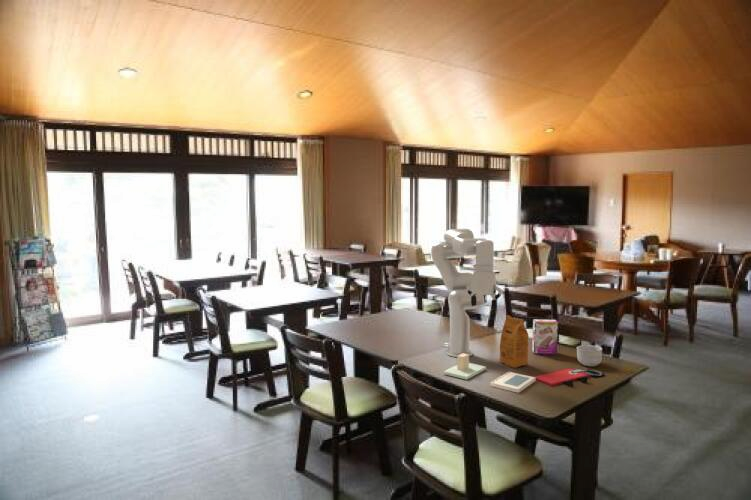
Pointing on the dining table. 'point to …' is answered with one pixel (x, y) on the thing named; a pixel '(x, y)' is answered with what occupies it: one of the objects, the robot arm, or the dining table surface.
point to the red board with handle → (566, 376)
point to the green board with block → (464, 368)
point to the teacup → (589, 355)
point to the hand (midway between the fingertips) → (483, 307)
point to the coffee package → (514, 343)
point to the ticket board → (513, 382)
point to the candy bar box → (545, 336)
